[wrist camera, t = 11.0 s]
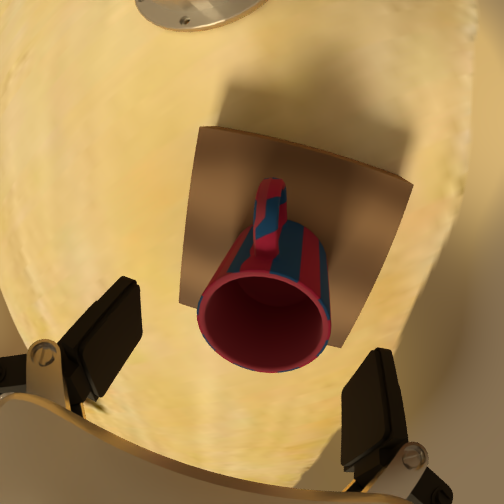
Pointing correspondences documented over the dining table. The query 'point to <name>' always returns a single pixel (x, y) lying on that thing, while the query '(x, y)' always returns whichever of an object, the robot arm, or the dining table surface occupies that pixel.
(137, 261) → the dining table surface
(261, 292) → the mug
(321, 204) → the walnut block
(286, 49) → the dining table surface
